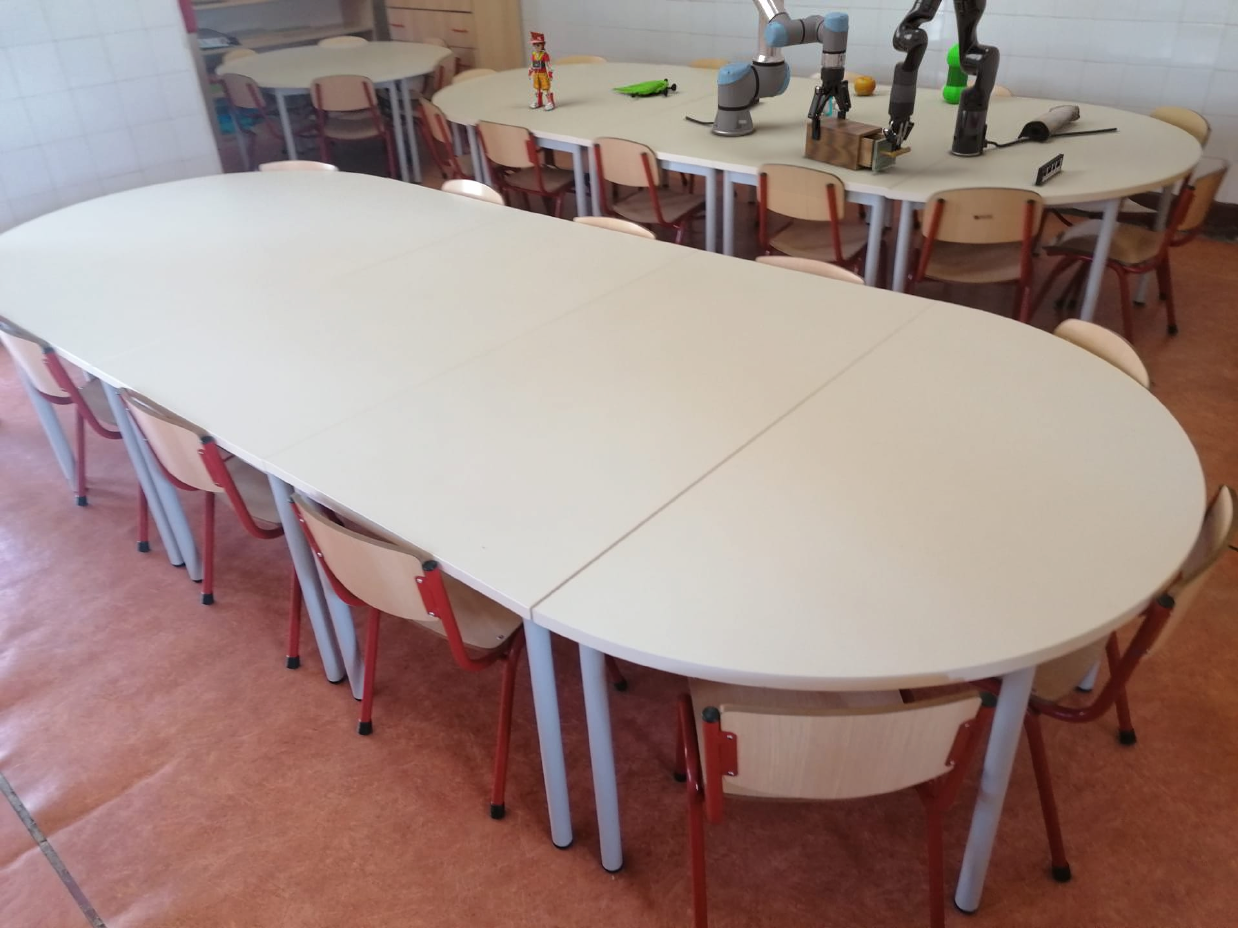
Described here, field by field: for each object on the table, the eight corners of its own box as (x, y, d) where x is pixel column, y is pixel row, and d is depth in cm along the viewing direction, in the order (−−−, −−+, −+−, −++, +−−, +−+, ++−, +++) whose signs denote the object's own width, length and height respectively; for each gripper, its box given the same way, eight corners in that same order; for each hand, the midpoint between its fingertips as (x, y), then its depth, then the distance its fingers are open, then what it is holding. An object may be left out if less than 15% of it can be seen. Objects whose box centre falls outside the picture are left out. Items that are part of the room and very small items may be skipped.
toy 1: (525, 109, 381) (517, 32, 364) (534, 104, 388) (527, 28, 371) (550, 110, 377) (543, 32, 360) (559, 105, 384) (553, 28, 367)
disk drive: (744, 111, 360) (759, 102, 370) (744, 104, 358) (760, 95, 368) (721, 109, 365) (737, 100, 375) (721, 102, 363) (737, 93, 373)
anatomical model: (812, 91, 345) (837, 84, 345) (815, 118, 351) (840, 111, 351) (822, 101, 333) (849, 93, 332) (825, 128, 339) (851, 121, 338)
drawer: (910, 167, 287) (914, 138, 282) (890, 175, 282) (893, 145, 277) (845, 151, 305) (848, 124, 299) (825, 158, 299) (827, 130, 294)
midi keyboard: (1039, 185, 269) (1043, 168, 266) (1035, 184, 270) (1038, 168, 267) (1060, 170, 279) (1064, 154, 277) (1056, 169, 280) (1060, 153, 277)
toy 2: (686, 85, 398) (631, 84, 414) (685, 72, 395) (629, 72, 411) (651, 104, 381) (596, 103, 397) (650, 92, 378) (594, 91, 394)
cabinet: (878, 162, 296) (882, 127, 290) (855, 170, 291) (859, 134, 284) (827, 149, 311) (830, 116, 305) (804, 157, 305) (806, 123, 299)
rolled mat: (1047, 110, 326) (1071, 92, 318) (1060, 131, 326) (1086, 114, 318) (1013, 133, 309) (1038, 115, 301) (1028, 155, 309) (1053, 137, 301)
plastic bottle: (973, 101, 354) (984, 32, 339) (955, 106, 349) (966, 36, 335) (952, 97, 361) (962, 29, 346) (934, 102, 356) (944, 33, 342)
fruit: (849, 87, 368) (861, 69, 365) (851, 91, 376) (863, 73, 373) (866, 98, 367) (878, 80, 364) (868, 102, 375) (880, 84, 372)
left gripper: (816, 74, 281) (812, 145, 293) (866, 61, 292) (859, 130, 305) (798, 71, 286) (795, 141, 298) (848, 59, 297) (842, 126, 310)
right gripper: (898, 104, 268) (891, 163, 278) (926, 96, 275) (918, 154, 285) (878, 100, 273) (871, 158, 283) (906, 93, 280) (898, 149, 290)
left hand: (827, 136), depth 301 cm, fingers closed on cabinet, 12 cm apart
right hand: (895, 156), depth 284 cm, fingers closed
